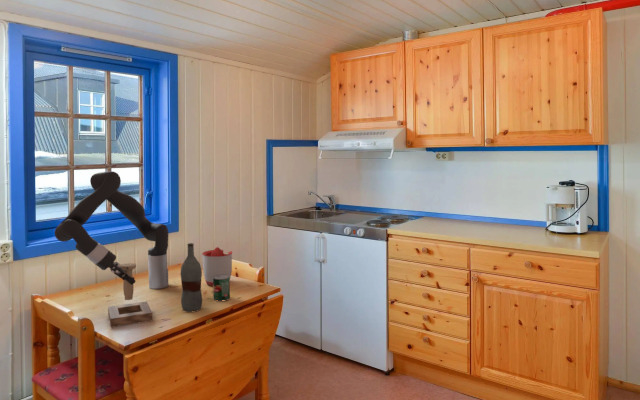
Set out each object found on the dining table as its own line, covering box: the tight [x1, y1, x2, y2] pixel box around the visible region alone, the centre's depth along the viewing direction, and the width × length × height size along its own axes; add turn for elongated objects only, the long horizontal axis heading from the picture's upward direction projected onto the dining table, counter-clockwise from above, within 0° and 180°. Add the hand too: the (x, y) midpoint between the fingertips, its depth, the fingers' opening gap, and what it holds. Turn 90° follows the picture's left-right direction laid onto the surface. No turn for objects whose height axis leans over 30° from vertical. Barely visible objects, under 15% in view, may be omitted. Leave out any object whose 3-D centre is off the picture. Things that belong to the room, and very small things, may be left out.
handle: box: [120, 262, 137, 301], centre depth 196 cm, size 5×6×15 cm
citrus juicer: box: [201, 246, 233, 287], centre depth 248 cm, size 16×17×20 cm
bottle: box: [180, 242, 203, 313], centre depth 208 cm, size 9×9×30 cm
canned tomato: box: [212, 274, 231, 302], centre depth 223 cm, size 8×8×11 cm
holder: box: [107, 301, 153, 328], centre depth 198 cm, size 16×16×4 cm
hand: (133, 281), depth 197 cm, fingers closed on handle, 3 cm apart
